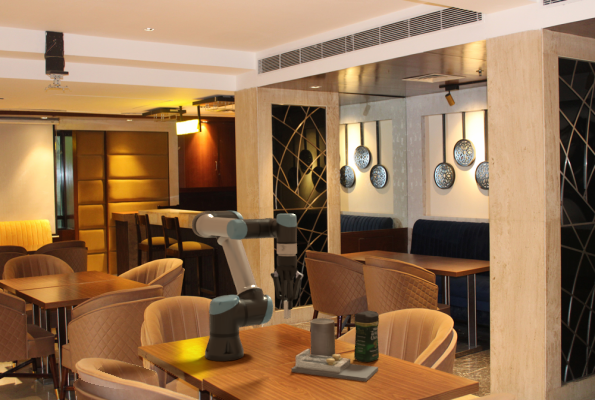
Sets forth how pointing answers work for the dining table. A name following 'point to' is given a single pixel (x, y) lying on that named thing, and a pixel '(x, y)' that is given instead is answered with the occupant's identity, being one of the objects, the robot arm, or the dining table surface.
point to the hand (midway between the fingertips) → (287, 317)
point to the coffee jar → (366, 336)
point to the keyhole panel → (320, 362)
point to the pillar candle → (322, 337)
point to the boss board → (349, 373)
